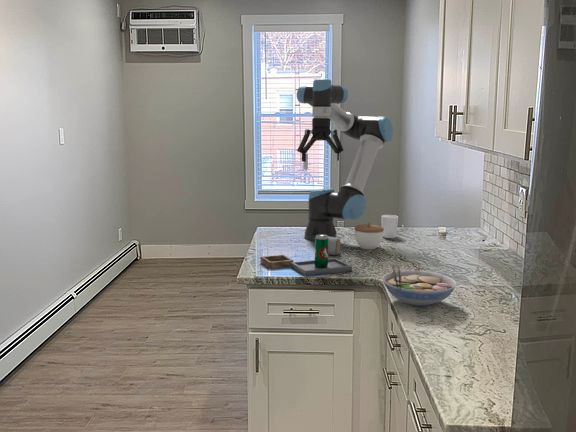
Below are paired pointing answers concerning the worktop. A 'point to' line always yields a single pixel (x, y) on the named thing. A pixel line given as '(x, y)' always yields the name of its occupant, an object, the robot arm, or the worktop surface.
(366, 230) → the lidded bowl
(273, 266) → the walnut collar
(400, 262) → the worktop surface
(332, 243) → the ceramic mug
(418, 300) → the ramen bowl
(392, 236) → the white cup
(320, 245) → the soda can
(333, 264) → the grey tray
